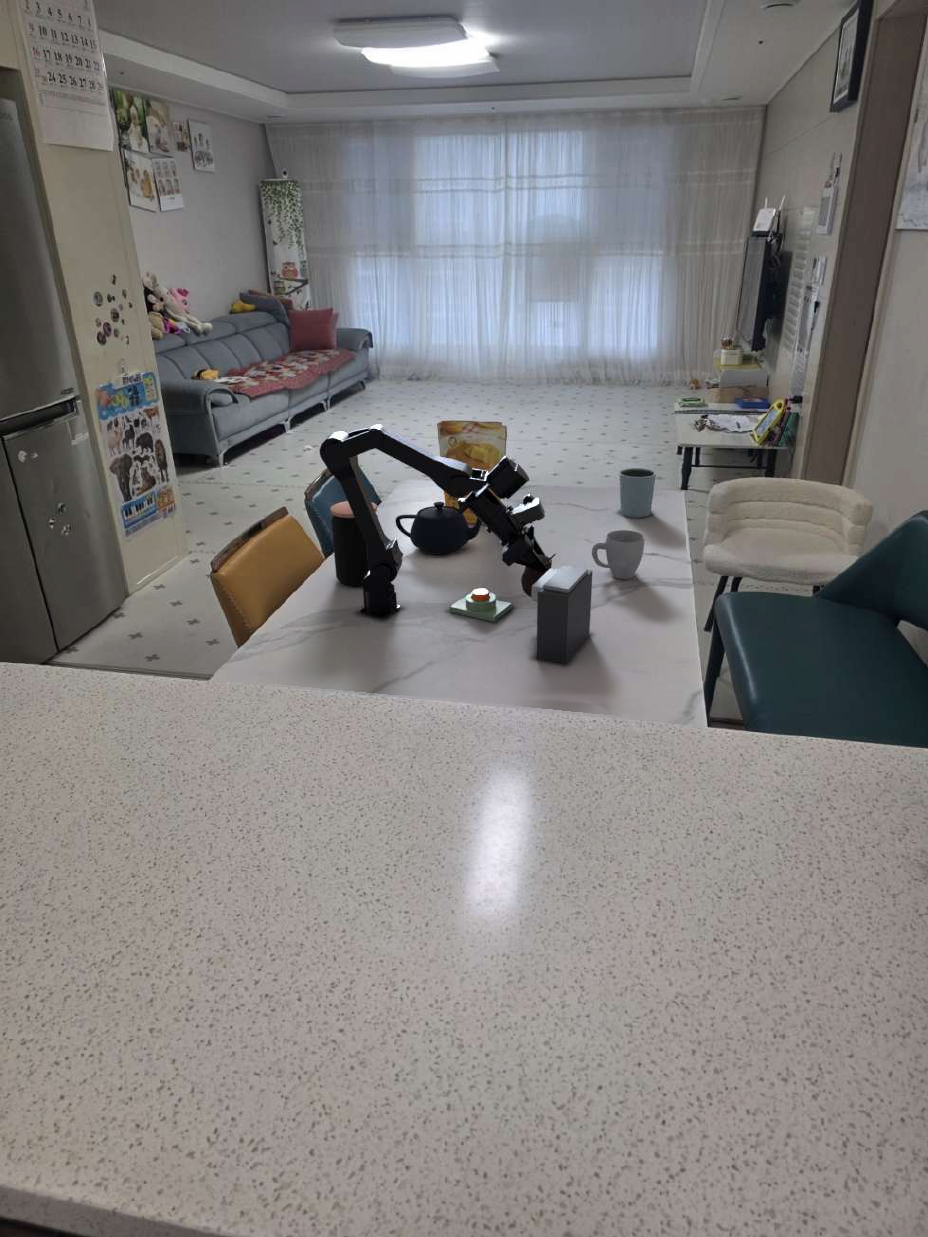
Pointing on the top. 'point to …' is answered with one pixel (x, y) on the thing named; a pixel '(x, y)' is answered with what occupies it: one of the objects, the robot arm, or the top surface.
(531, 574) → the mate gourd
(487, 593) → the eject button
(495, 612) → the pad
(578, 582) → the lidded grey bin
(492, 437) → the pancake mix bag
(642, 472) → the blue cup
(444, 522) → the teapot
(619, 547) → the mug
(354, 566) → the coffee jar
